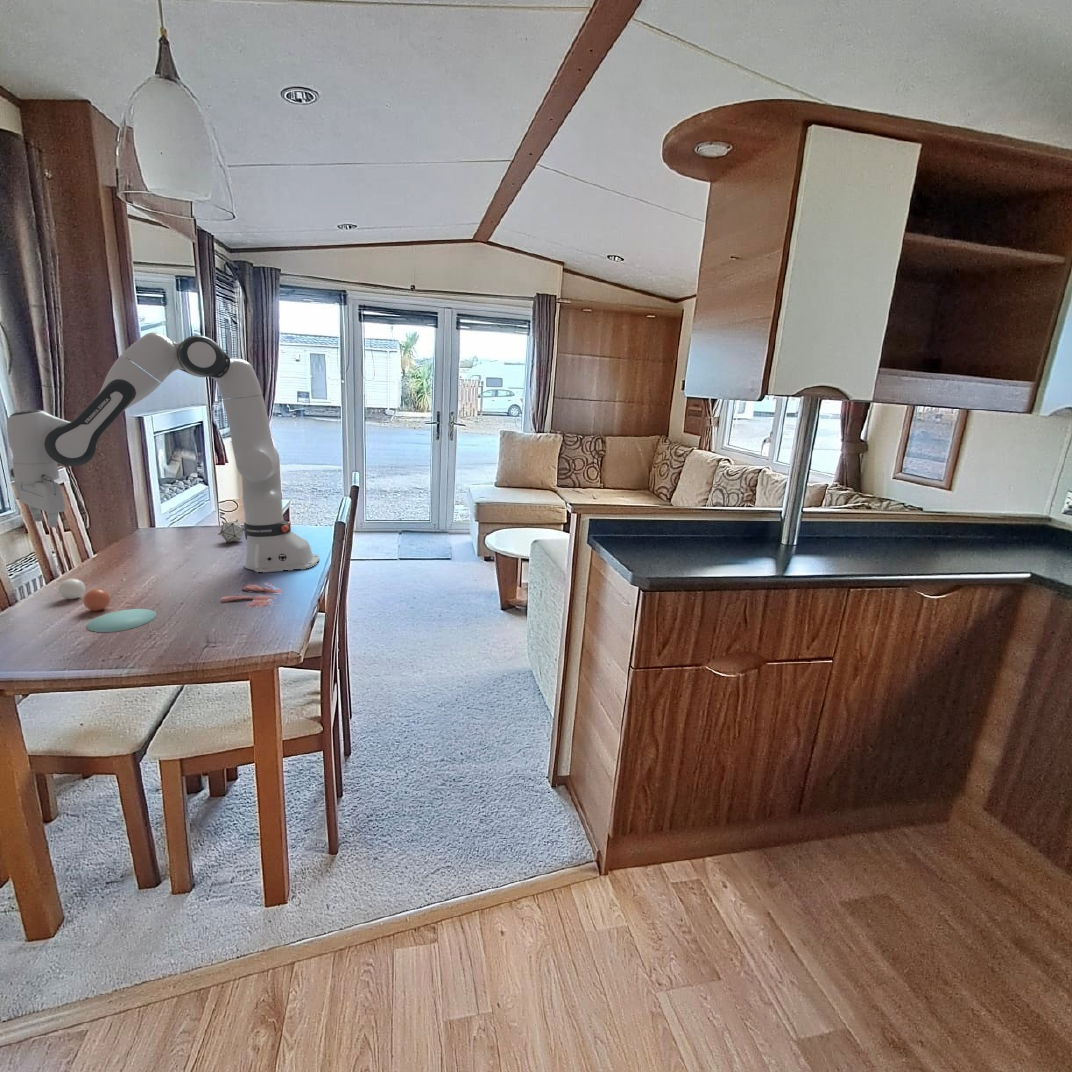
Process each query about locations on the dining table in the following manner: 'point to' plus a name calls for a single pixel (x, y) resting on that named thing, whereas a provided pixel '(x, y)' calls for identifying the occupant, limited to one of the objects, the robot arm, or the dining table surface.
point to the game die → (231, 531)
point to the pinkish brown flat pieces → (258, 601)
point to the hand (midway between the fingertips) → (45, 523)
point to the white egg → (72, 588)
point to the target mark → (121, 620)
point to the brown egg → (96, 599)
